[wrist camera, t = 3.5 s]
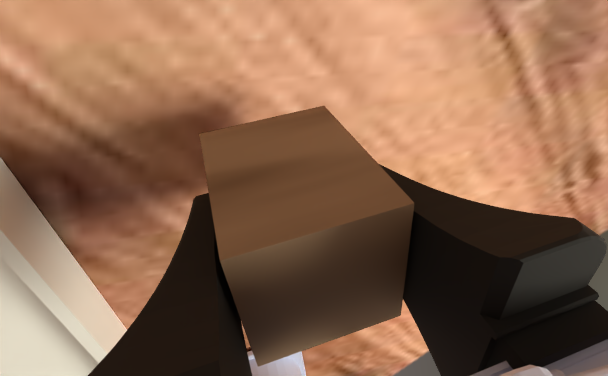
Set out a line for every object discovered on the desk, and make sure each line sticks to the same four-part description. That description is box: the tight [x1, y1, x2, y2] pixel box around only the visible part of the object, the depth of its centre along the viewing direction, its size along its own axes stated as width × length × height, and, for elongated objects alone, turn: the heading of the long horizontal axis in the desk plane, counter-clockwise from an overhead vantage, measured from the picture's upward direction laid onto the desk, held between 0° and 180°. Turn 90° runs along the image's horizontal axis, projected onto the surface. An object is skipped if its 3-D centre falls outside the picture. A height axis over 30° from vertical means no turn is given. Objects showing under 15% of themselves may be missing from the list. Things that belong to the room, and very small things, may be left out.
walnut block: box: [199, 106, 414, 367], centre depth 11 cm, size 4×4×6 cm
